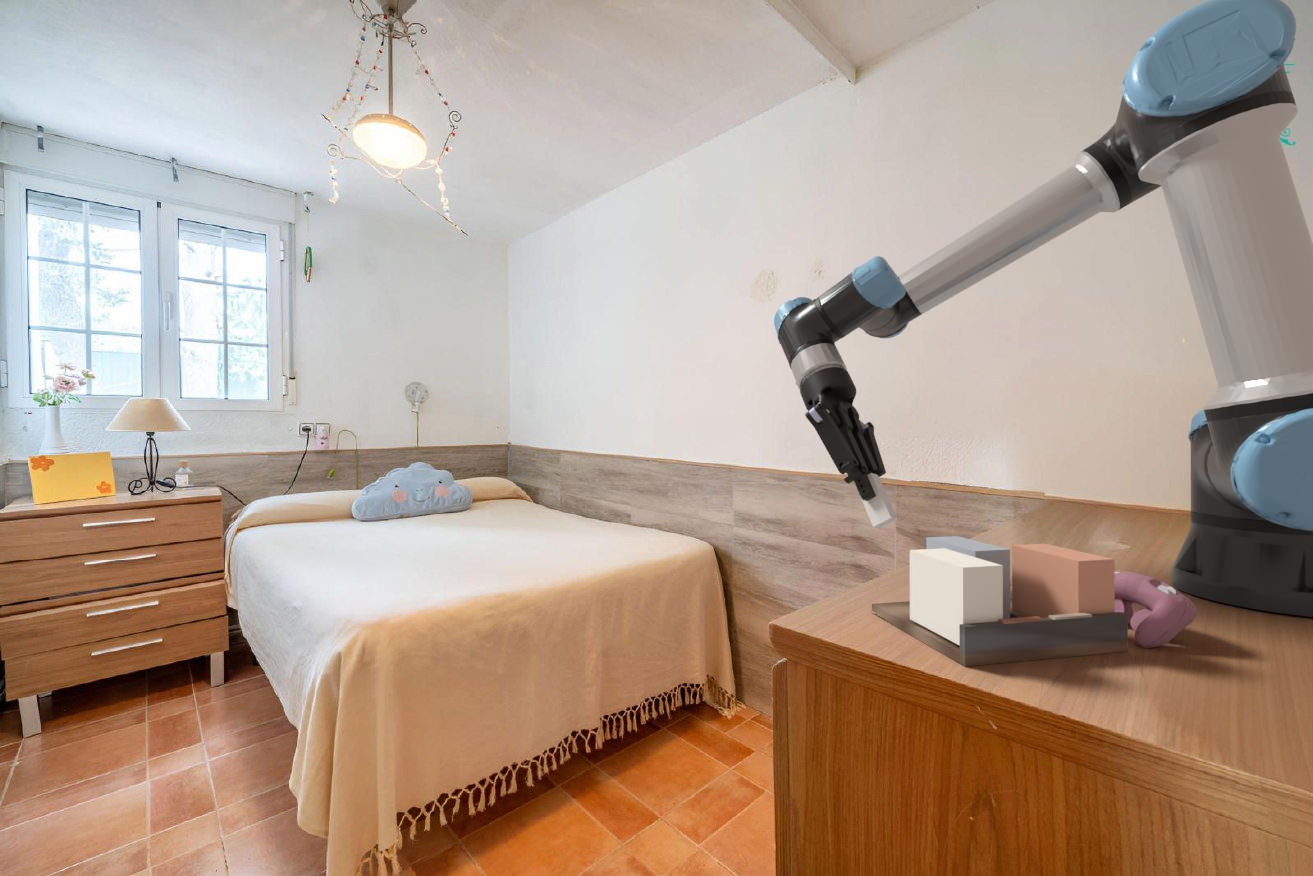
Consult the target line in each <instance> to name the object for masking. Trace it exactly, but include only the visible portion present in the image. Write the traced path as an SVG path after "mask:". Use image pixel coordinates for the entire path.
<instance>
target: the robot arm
mask: <svg viewBox="0 0 1313 876" xmlns="http://www.w3.org/2000/svg"><path fill="white" fill-rule="evenodd" d="M1296 31H1297V21H1296V17H1295V15H1294V12H1293V11H1292V9H1291V8H1290V6H1289V5H1287V4H1286V3H1284V1H1282V0H1208V1H1205V2H1202V3H1200V4H1196V5H1195V6H1193V7H1191V8H1189V9H1187V10H1185V11H1183V12H1181V13H1179V14H1178V15H1175V16H1174V17H1173V18H1171V19H1170V20H1169V21H1167V22H1166V23H1165V24H1163V25H1162V26H1161V27H1159V28H1158V29H1157V30H1156V31H1155V32H1154V33H1152V34H1151V36H1149V37H1148V38H1147V39H1146V41H1145V42H1144V43H1143V45H1142V46H1140V48H1139V49H1138V51H1137V53H1136V54H1135V56H1134V57H1133V59H1132V61H1131V64H1130V66H1129V67H1128V69H1127V71H1126V73H1125V75H1124V78H1123V81H1122V89H1121V93H1122V97H1121V101H1120V104H1119V109H1118V112H1117V116H1116V120H1115V123H1114V124H1113V125H1112V126H1111V127H1110V129H1108V130H1107V131H1106V132H1105V133H1104V134H1103V135H1102V136H1101V137H1100V138H1099V139H1097V140H1096V141H1094V143H1092V144H1090V145H1089V146H1087V147H1086V148H1085V149H1083V150H1081V151H1079V152H1078V153H1077V154H1076V155H1075V158H1074V161H1073V164H1072V165H1071V166H1070V167H1068V168H1067V169H1065V170H1064V171H1062V172H1060V173H1058V174H1057V175H1056V176H1054V177H1053V178H1050V179H1049V180H1047V181H1046V182H1045V183H1042V185H1040V186H1038V187H1036V188H1035V189H1034V190H1032V191H1030V192H1028V193H1027V194H1026V195H1024V196H1023V197H1021V198H1019V199H1018V200H1016V201H1015V202H1013V203H1011V204H1010V205H1008V206H1006V207H1005V208H1004V209H1002V210H1000V211H999V212H998V213H996V214H994V215H993V216H991V217H990V218H988V219H986V220H984V221H983V222H981V223H980V224H978V225H976V226H975V227H973V228H972V229H971V230H969V231H967V232H966V233H964V234H963V235H961V236H960V237H958V238H956V239H955V240H953V241H951V242H950V243H948V244H946V245H945V246H944V247H942V248H940V249H939V250H936V252H935V253H933V254H930V256H928V257H926V258H924V259H923V260H922V261H920V262H919V263H917V264H915V265H913V266H911V268H909V269H908V270H906V271H903V273H901V274H899V276H898V275H897V273H896V272H895V270H893V268H892V266H891V265H890V264H889V263H888V262H887V260H886V259H885V258H884V257H883V256H874V257H872V258H871V259H868V260H867V261H866V262H864V263H862V264H861V265H859V266H857V267H855V268H854V269H853V271H851V272H850V273H849V274H847V275H846V276H845V277H843V278H842V279H841V280H840V281H838V282H837V283H836V284H834V285H833V286H831V287H830V288H828V289H827V290H826V291H824V292H823V293H822V294H821V295H819V296H818V297H817V298H814V299H811V298H809V297H805V296H799V297H798V296H797V297H795V299H792V300H790V299H788V300H787V301H786V302H784V303H782V305H780V306H779V308H778V309H777V310H776V312H775V314H774V318H773V325H774V327H775V328H774V329H775V333H776V334H777V335H776V336H777V340H778V342H779V345H780V346H781V348H782V351H783V353H784V356H785V359H786V360H787V362H788V365H789V369H790V370H791V371H792V374H793V377H794V379H795V384H796V386H797V387H798V389H799V393H800V396H801V398H802V401H803V403H804V406H805V408H806V410H807V412H805V413H804V415H805V418H806V419H807V420H808V422H809V423H810V424H811V425H812V427H813V428H814V429H815V431H816V433H817V435H818V436H819V439H820V440H821V442H822V444H823V446H824V447H825V449H826V451H827V452H828V455H829V456H830V458H831V460H832V462H833V463H834V464H833V465H835V467H836V469H837V471H838V472H839V474H841V475H845V474H846V475H847V476H846V477H845V478H843V480H844V482H845V483H846V484H849V485H850V483H853V482H854V485H855V487H856V489H857V492H858V494H859V496H860V498H861V502H862V504H863V506H864V509H865V511H866V514H867V516H868V519H869V520H870V523H871V525H872V527H873V528H877V529H881V528H883V527H885V526H887V525H890V524H891V523H893V522H896V521H897V520H899V519H898V517H897V514H896V512H895V510H894V508H893V506H892V504H891V501H890V499H889V497H888V495H887V492H886V490H885V488H884V486H883V483H882V482H881V479H880V478H881V477H882V476H884V475H885V474H886V473H887V472H886V467H885V464H884V462H883V458H882V455H881V452H880V449H879V445H878V443H877V440H876V436H875V426H874V425H873V423H872V422H870V421H868V422H866V423H864V422H863V421H862V420H861V419H860V414H859V412H858V410H857V409H856V407H855V406H854V405H853V402H854V400H855V398H856V396H857V388H856V386H855V383H854V381H853V379H852V377H851V375H850V373H849V371H848V368H847V366H846V364H845V361H844V360H843V358H842V355H841V354H840V351H839V350H838V347H837V346H836V344H835V343H836V342H838V341H839V340H841V339H843V338H845V337H846V336H847V335H850V334H851V333H852V332H854V331H855V330H857V329H861V330H862V331H863V332H865V334H866V335H869V336H871V337H874V338H878V339H892V338H894V337H896V336H899V335H900V334H901V333H902V332H903V331H904V330H906V328H907V327H908V324H909V323H910V322H911V321H913V320H915V319H916V318H918V317H921V316H922V315H923V314H925V313H927V312H929V311H930V310H932V309H934V308H935V307H938V306H939V305H941V304H943V303H944V302H946V301H948V300H950V299H951V298H953V297H955V296H957V295H959V294H960V293H961V292H963V291H966V290H967V289H968V288H971V287H972V286H975V285H976V284H978V283H979V282H981V281H982V280H984V279H986V278H987V277H990V276H991V275H993V274H996V273H997V272H998V271H1000V270H1002V269H1004V268H1006V267H1008V265H1010V264H1013V263H1014V262H1015V261H1018V260H1019V259H1021V258H1022V257H1024V256H1027V255H1028V254H1030V253H1032V252H1033V251H1035V250H1037V249H1039V248H1040V247H1042V246H1044V245H1046V244H1047V243H1049V242H1051V241H1052V240H1054V239H1056V238H1057V237H1059V236H1061V235H1063V234H1065V233H1066V232H1068V231H1070V230H1071V229H1073V228H1076V226H1078V225H1080V224H1082V223H1084V222H1085V221H1087V220H1089V219H1091V218H1092V217H1095V215H1098V214H1099V213H1116V212H1117V211H1118V212H1119V211H1120V210H1122V209H1124V208H1125V207H1126V206H1128V205H1130V204H1132V203H1133V202H1135V201H1137V200H1138V199H1142V198H1143V197H1145V196H1146V195H1148V194H1150V193H1152V192H1154V191H1156V190H1157V189H1159V188H1161V189H1162V192H1163V196H1164V200H1165V204H1166V207H1167V210H1168V214H1169V216H1170V217H1169V218H1170V220H1171V223H1172V227H1173V231H1174V234H1175V238H1176V241H1177V245H1178V249H1179V252H1180V256H1181V259H1182V263H1183V266H1184V269H1185V273H1186V277H1187V280H1188V284H1189V287H1190V292H1191V293H1192V294H1191V295H1192V298H1193V301H1194V305H1195V308H1196V313H1197V316H1198V320H1199V323H1200V327H1201V329H1202V333H1203V337H1204V340H1205V341H1204V342H1205V344H1206V348H1207V350H1208V354H1209V357H1210V361H1211V365H1212V368H1213V372H1214V376H1215V379H1216V383H1217V386H1218V389H1217V391H1216V393H1215V394H1214V395H1213V396H1212V397H1211V398H1210V400H1208V401H1207V403H1205V404H1204V406H1203V410H1200V411H1197V413H1196V414H1194V415H1193V417H1192V418H1191V424H1190V430H1189V431H1188V439H1189V442H1190V527H1189V531H1188V533H1187V536H1186V537H1185V539H1184V542H1183V543H1182V545H1181V548H1180V549H1179V552H1178V554H1177V557H1176V559H1175V560H1174V563H1173V565H1172V566H1171V586H1172V587H1173V588H1174V589H1176V590H1178V591H1181V592H1184V593H1186V594H1189V595H1192V596H1196V597H1199V598H1202V599H1206V600H1209V601H1213V602H1214V601H1215V602H1219V603H1223V604H1227V605H1231V606H1237V607H1242V608H1246V609H1252V610H1258V611H1264V612H1270V613H1277V614H1283V615H1284V614H1285V615H1292V616H1300V617H1309V618H1310V617H1311V618H1312V617H1313V241H1312V237H1311V233H1310V231H1309V228H1308V224H1307V221H1306V218H1305V215H1304V212H1303V209H1302V206H1301V203H1300V199H1299V196H1298V192H1297V189H1296V187H1295V182H1294V181H1293V176H1292V173H1291V171H1290V167H1289V164H1288V161H1287V157H1286V155H1285V154H1286V153H1285V152H1284V149H1283V146H1282V142H1281V139H1280V137H1281V135H1282V133H1284V131H1285V130H1286V129H1287V128H1288V126H1289V125H1290V123H1292V121H1293V120H1294V119H1295V118H1296V116H1297V115H1298V107H1297V103H1296V100H1295V97H1294V94H1293V91H1292V87H1291V85H1290V81H1289V78H1288V76H1287V74H1288V73H1287V71H1286V67H1285V65H1284V63H1285V62H1286V61H1287V60H1288V58H1289V56H1290V54H1291V53H1292V50H1293V48H1294V45H1295V40H1296Z"/></svg>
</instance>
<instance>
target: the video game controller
mask: <svg viewBox="0 0 1313 876" xmlns="http://www.w3.org/2000/svg"><path fill="white" fill-rule="evenodd" d="M1133 603H1134V604H1138V605H1140V606H1143V607H1144V608H1143V609H1140V610H1137V612H1135V613H1134V610H1133V607H1132V604H1133ZM1115 612H1122V613H1126V614H1128V624H1130V626H1131V627H1130V628H1132V629H1133V630H1134V631H1135V632H1134V641H1135V643H1136V644H1137V645H1138V646H1140V647H1142V648H1146V649H1147V648H1148V649H1151V648H1156V647H1161V646H1162V645H1165V644H1168V642H1170V641H1171V640H1174V638H1175V637H1176V636H1178V634H1179V633H1180V632H1181V631H1182V630H1183V628H1186V627H1188V626H1190V625H1191V624H1192V623H1193V622H1194V620H1195V619H1196V617H1197V612H1198V611H1197V607H1196V604H1195V603H1194V602H1193V601H1192V600H1191V599H1190V598H1189V597H1188V596H1186V595H1184V594H1183V593H1181V592H1180V591H1179V590H1178V589H1177V588H1175V587H1174V586H1172V585H1169V584H1168V583H1166V582H1164V581H1162V580H1159V579H1157V578H1154V577H1151V576H1149V575H1145V574H1141V573H1137V572H1133V571H1127V570H1126V571H1121V572H1120V571H1115Z"/></svg>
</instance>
